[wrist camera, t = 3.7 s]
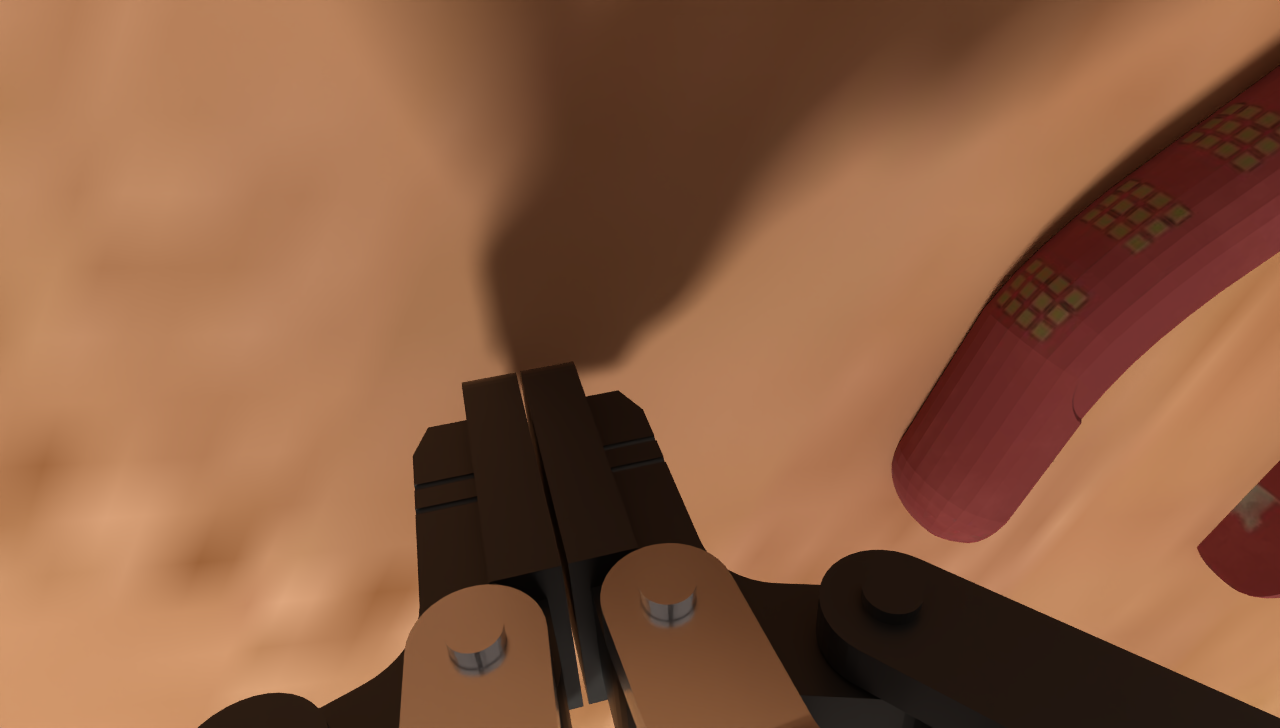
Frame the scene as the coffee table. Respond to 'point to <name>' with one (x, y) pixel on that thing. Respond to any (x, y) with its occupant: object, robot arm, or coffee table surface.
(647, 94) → the coffee table surface
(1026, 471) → the pliers
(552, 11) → the coffee table surface
